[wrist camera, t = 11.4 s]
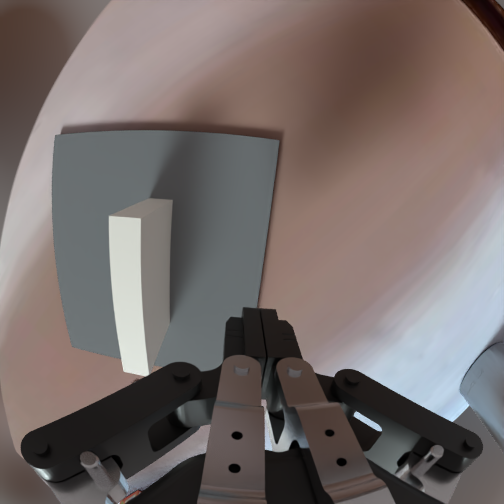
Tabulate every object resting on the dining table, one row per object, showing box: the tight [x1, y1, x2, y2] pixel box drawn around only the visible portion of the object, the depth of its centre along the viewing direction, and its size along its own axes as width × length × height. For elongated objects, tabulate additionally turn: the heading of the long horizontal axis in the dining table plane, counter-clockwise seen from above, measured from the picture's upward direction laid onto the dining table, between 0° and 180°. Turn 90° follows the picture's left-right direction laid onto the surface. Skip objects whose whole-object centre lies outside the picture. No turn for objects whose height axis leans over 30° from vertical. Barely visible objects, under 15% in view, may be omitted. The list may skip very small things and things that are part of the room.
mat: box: [52, 130, 280, 371], centre depth 19 cm, size 16×18×1 cm
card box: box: [109, 198, 173, 376], centre depth 15 cm, size 2×9×6 cm, turn 173°
